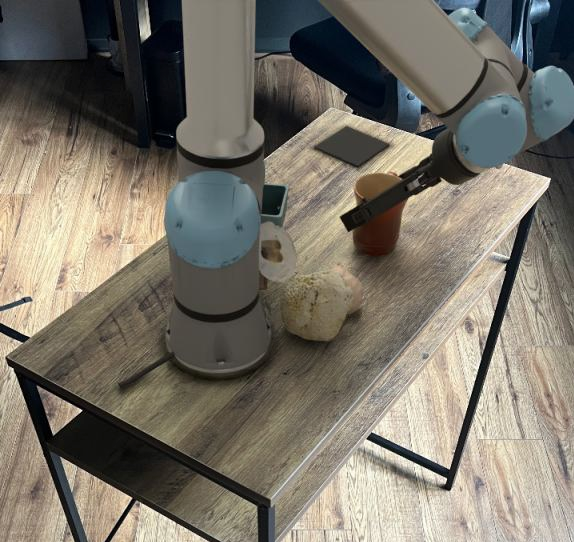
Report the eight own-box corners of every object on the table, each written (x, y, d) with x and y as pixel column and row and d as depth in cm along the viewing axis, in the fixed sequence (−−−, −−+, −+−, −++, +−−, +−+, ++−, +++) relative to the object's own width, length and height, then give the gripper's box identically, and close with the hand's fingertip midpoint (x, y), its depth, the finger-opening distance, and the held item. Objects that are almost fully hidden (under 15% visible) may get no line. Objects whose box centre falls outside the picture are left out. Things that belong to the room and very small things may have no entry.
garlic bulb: (317, 319, 124) (341, 289, 128) (355, 325, 121) (378, 294, 125) (309, 281, 119) (334, 251, 123) (349, 286, 116) (373, 255, 120)
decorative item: (285, 359, 121) (254, 297, 118) (326, 333, 125) (296, 272, 122) (334, 347, 111) (302, 278, 108) (376, 318, 115) (346, 252, 112)
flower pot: (225, 261, 130) (223, 211, 123) (235, 229, 136) (233, 179, 128) (280, 267, 130) (281, 217, 123) (288, 235, 135) (289, 184, 128)
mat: (357, 167, 148) (357, 165, 148) (314, 148, 152) (314, 146, 152) (389, 145, 153) (389, 143, 153) (346, 127, 157) (346, 125, 156)
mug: (392, 268, 129) (402, 209, 121) (340, 255, 131) (346, 196, 123) (411, 228, 137) (422, 169, 128) (361, 216, 138) (368, 157, 130)
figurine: (313, 235, 122) (233, 244, 130) (279, 193, 114) (196, 206, 122) (296, 300, 119) (215, 305, 127) (260, 261, 111) (176, 270, 119)
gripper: (434, 210, 108) (334, 262, 126) (525, 139, 119) (421, 196, 137) (407, 157, 106) (309, 218, 124) (501, 90, 117) (399, 155, 135)
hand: (368, 206), depth 131 cm, fingers closed on mug, 12 cm apart
